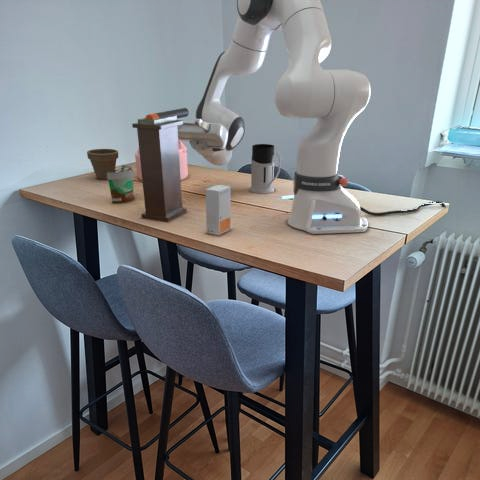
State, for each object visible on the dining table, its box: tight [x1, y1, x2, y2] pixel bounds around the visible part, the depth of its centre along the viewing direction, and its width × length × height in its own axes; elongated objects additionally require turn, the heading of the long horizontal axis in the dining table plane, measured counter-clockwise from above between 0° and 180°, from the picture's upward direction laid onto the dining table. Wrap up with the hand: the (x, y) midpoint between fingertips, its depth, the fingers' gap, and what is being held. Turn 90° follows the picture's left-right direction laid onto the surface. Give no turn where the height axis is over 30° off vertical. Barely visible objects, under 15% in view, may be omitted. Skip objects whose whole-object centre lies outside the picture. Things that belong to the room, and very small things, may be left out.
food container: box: [107, 164, 135, 204], centre depth 153 cm, size 12×6×10 cm, turn 168°
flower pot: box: [86, 148, 119, 181], centre depth 180 cm, size 12×11×10 cm
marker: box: [145, 107, 190, 120], centre depth 132 cm, size 19×2×2 cm, turn 156°
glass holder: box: [249, 143, 282, 194], centre depth 161 cm, size 9×14×15 cm, turn 33°
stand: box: [131, 115, 188, 223], centre depth 135 cm, size 12×9×27 cm
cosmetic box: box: [205, 184, 232, 236], centre depth 125 cm, size 6×4×12 cm
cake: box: [134, 140, 189, 181], centre depth 180 cm, size 20×20×14 cm
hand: (183, 120), depth 140 cm, fingers open, 8 cm apart
